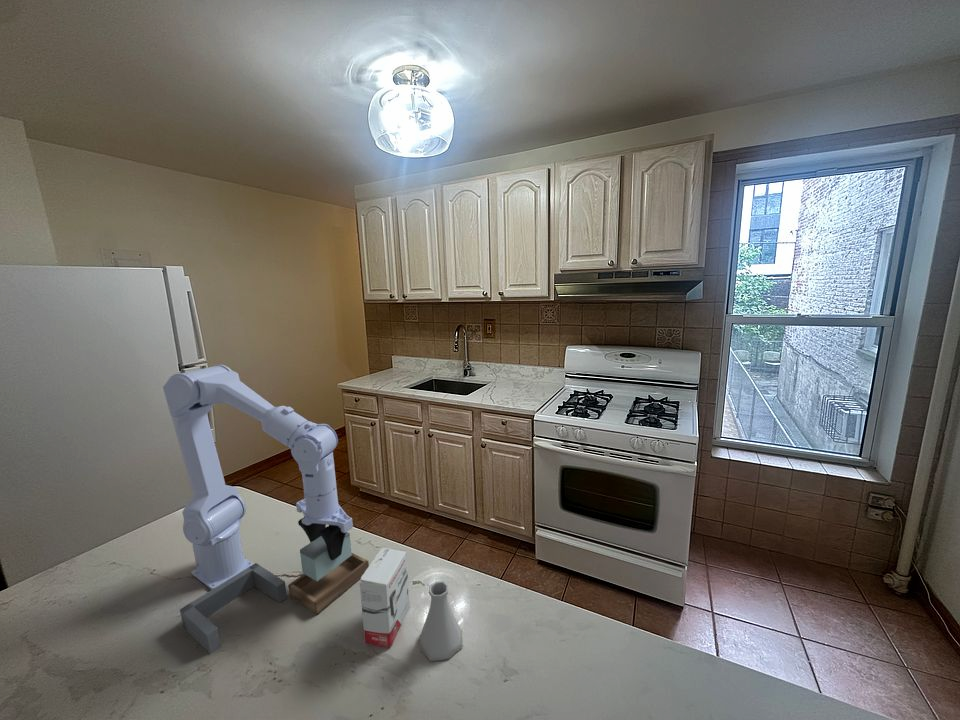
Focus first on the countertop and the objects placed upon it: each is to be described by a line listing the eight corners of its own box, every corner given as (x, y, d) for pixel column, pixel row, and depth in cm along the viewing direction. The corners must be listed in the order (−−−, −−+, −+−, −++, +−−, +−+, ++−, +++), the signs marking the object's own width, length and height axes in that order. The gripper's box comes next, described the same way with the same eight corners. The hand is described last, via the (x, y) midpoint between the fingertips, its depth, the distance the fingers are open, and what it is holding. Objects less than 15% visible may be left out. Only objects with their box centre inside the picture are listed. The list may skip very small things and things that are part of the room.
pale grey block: (302, 572, 71) (299, 549, 70) (337, 548, 77) (335, 526, 76) (317, 581, 68) (314, 557, 67) (351, 555, 75) (349, 533, 74)
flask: (414, 631, 63) (411, 580, 61) (454, 615, 65) (452, 566, 64) (426, 670, 56) (422, 613, 54) (469, 650, 59) (467, 596, 57)
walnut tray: (289, 596, 71) (288, 585, 70) (342, 557, 81) (341, 547, 81) (317, 615, 66) (316, 603, 66) (369, 571, 77) (368, 560, 76)
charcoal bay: (183, 626, 65) (179, 609, 64) (258, 577, 76) (256, 562, 75) (210, 653, 60) (207, 635, 59) (287, 597, 71) (284, 581, 70)
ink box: (391, 649, 60) (385, 585, 58) (363, 644, 61) (357, 581, 58) (411, 605, 68) (407, 548, 66) (387, 602, 69) (382, 545, 67)
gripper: (278, 489, 71) (286, 552, 73) (326, 510, 63) (334, 579, 65) (311, 474, 76) (318, 532, 79) (359, 491, 69) (365, 555, 71)
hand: (327, 552), depth 73 cm, fingers closed on pale grey block, 4 cm apart
